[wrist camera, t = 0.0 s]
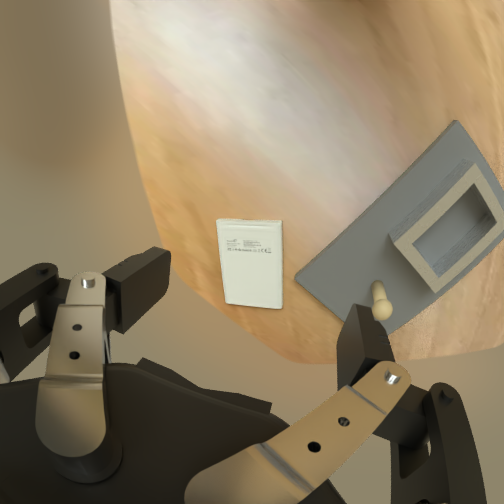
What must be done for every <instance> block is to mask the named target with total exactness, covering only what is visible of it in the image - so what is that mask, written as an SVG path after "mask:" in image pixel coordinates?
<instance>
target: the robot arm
mask: <svg viewBox="0 0 504 504" xmlns="http://www.w3.org/2000/svg"><path fill="white" fill-rule="evenodd" d="M170 263H171V253H170V251H168V250H165V249H161V248H158V247H152V248H150V249H149V250H147V251H145V252H144V253H141V254H137V255H133V256H131V257H128V258H127V259H125V260H124V261H122V262H120V263H119V264H118V265H115V266H113V267H112V268H110V269H108V270H107V271H105V272H104V273H102V274H100V273H97V272H82V273H78V274H76V275H75V276H74V277H73V278H72V279H71V280H69V279H64V278H59V275H58V268H57V267H56V265H54V264H51V263H39V264H35V265H33V266H31V267H29V268H28V269H26V270H24V271H22V272H21V273H19V274H17V275H15V276H14V277H12V278H10V279H9V280H7V281H5V282H4V283H2V284H1V285H0V504H346V503H345V501H344V500H343V498H342V497H341V495H340V494H339V493H338V491H337V490H336V489H335V487H334V486H333V484H332V483H331V482H330V480H329V479H328V478H329V477H330V476H331V475H332V474H333V473H334V472H335V471H336V470H338V469H339V467H341V466H342V465H343V464H344V463H345V462H346V461H347V460H348V459H349V458H350V457H351V456H352V455H353V454H354V452H355V451H356V450H357V449H358V448H359V447H360V446H361V445H362V444H363V443H364V442H365V441H366V440H367V439H368V438H369V436H370V435H371V434H374V435H377V436H379V437H382V438H384V439H387V440H389V441H390V446H391V504H487V501H486V495H485V488H484V482H483V477H482V472H481V467H480V463H479V459H478V454H477V450H476V446H475V442H474V438H473V435H472V431H471V428H470V424H469V421H468V418H467V415H466V412H465V409H464V406H463V402H462V400H461V397H460V395H459V394H458V392H457V391H456V390H455V389H454V388H453V387H451V386H450V385H448V384H446V383H441V382H439V383H435V384H433V385H432V387H431V388H430V390H429V391H426V390H423V389H421V388H419V387H416V386H414V385H412V384H411V377H410V375H409V373H408V372H407V370H406V369H405V368H403V367H402V366H401V365H399V364H397V363H395V359H394V356H393V352H392V349H391V345H390V342H389V339H388V336H387V332H386V329H385V328H384V327H383V326H382V324H381V323H380V322H379V321H375V320H374V316H373V313H372V309H371V307H367V306H363V305H359V304H355V303H354V304H353V305H352V307H351V309H350V311H349V313H348V316H347V318H346V321H345V323H344V325H343V328H342V330H341V332H340V334H339V337H338V341H337V377H338V378H337V379H338V380H337V382H338V392H336V393H335V394H334V395H333V396H331V397H330V398H329V399H327V400H326V401H325V402H324V403H322V404H321V405H320V406H318V407H317V408H315V409H314V410H313V411H311V412H310V413H309V414H307V415H306V416H304V417H303V418H302V419H300V420H299V421H297V422H296V423H294V424H293V425H291V426H290V425H289V424H287V423H286V422H285V421H283V420H282V419H280V418H279V417H277V416H276V415H274V414H272V413H270V410H271V406H272V403H271V402H266V401H263V400H259V399H255V398H252V397H249V396H246V395H242V394H239V393H231V392H223V391H216V390H209V389H203V388H200V387H198V386H196V385H195V384H193V383H192V382H190V381H188V380H187V379H185V378H184V377H182V376H181V375H179V374H178V373H176V372H174V371H173V370H171V369H169V368H166V367H164V366H162V365H159V364H157V363H154V362H152V361H150V360H148V359H145V358H142V359H141V360H140V361H139V362H138V364H137V365H134V364H128V363H112V361H111V342H110V331H111V330H115V331H117V332H119V333H122V334H124V333H125V332H126V331H127V330H128V329H129V328H130V327H131V326H132V325H133V324H135V323H136V322H137V321H138V320H139V319H140V318H141V317H142V316H143V315H144V314H145V313H146V312H147V311H148V310H149V309H150V308H151V307H152V306H153V305H154V304H156V303H157V302H158V301H159V300H160V299H161V298H162V297H163V296H164V295H165V293H166V291H167V289H168V285H169V275H170ZM32 303H33V304H34V309H35V313H36V316H35V317H33V318H32V319H31V320H29V321H28V322H27V323H25V324H24V325H23V326H22V327H20V325H19V315H20V313H21V311H22V310H23V309H25V308H26V307H27V306H29V305H30V304H32ZM49 345H50V346H49ZM48 346H49V353H48V358H47V365H46V371H45V376H44V377H39V378H34V379H28V380H22V381H16V382H11V381H12V380H13V379H14V378H15V377H16V376H17V375H18V374H19V373H20V372H21V371H22V370H23V369H24V368H25V367H26V366H28V365H29V364H30V363H31V362H32V361H33V360H34V359H35V358H36V357H37V356H38V355H39V354H40V353H41V352H43V351H44V350H45V349H46V348H47V347H48ZM429 441H430V444H431V453H430V456H429V452H428V446H427V443H428V442H429Z"/></svg>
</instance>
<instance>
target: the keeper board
mask: <svg viewBox="0 0 504 504" xmlns="http://www.w3.org/2000/svg"><path fill="white" fill-rule="evenodd" d="M463 158H464V159H467V160H469V161H472V162H474V163H476V165H477V166H478V168H479V170H480V171H481V173H482V174H483V176H484V178H485V179H486V181H487V183H488V184H489V186H490V188H491V189H492V191H493V193H494V195H495V196H496V198H497V200H498V202H499V204H500V206H501V208H502V209H503V211H504V191H503V189H502V187H501V185H500V183H499V182H498V180H497V178H496V176H495V175H494V173H493V171H492V170H491V168H490V166H489V165H488V163H487V161H486V160H485V158H484V157H483V155H482V154H481V152H480V151H479V149H478V148H477V146H476V145H475V143H474V142H473V140H472V139H471V137H470V136H469V135H468V133H467V132H466V130H465V129H464V128H463V126H462V125H461V124H460V122H459V121H458V120H453V122H452V123H451V124H450V125H449V126H448V127H447V128H446V129H445V130H444V131H443V132H442V133H441V135H440V136H439V137H438V138H437V139H436V140H435V141H434V142H433V143H432V144H431V145H430V146H429V147H428V148H427V149H426V150H425V151H424V152H423V154H422V155H421V156H420V157H419V158H418V159H417V160H416V161H415V162H414V163H413V164H412V165H411V166H410V167H409V168H408V169H407V170H406V171H405V172H404V173H403V174H402V175H401V176H400V177H399V178H398V179H397V180H396V181H395V182H394V183H393V184H392V185H391V186H390V187H389V188H388V189H387V190H386V191H385V192H384V193H383V194H382V195H381V196H380V197H379V198H378V199H377V200H376V201H375V202H374V203H373V204H372V205H370V206H369V207H368V208H367V209H366V210H365V211H364V212H363V213H362V214H361V215H360V216H359V217H358V218H357V219H356V220H355V221H354V222H353V223H352V224H351V225H349V226H348V227H347V228H346V229H345V230H344V231H343V232H342V233H341V234H340V235H339V236H338V237H337V238H336V239H334V240H333V241H332V242H331V243H330V244H329V245H328V246H327V247H326V248H325V249H324V250H322V251H321V252H320V253H319V254H318V255H317V256H316V257H315V258H314V259H312V260H311V261H310V262H309V263H308V264H307V265H306V266H305V267H304V268H302V269H301V270H300V271H299V272H298V273H297V274H296V275H295V280H296V281H297V282H298V283H299V284H300V285H302V286H303V287H304V288H305V289H306V290H307V291H309V292H310V293H311V294H312V295H313V296H314V297H316V298H317V299H318V300H319V301H320V302H321V303H323V304H324V305H325V306H326V307H327V308H328V309H330V310H331V311H332V312H333V313H334V314H335V315H336V316H338V317H339V318H340V319H341V320H342V321H343V322H345V321H346V318H347V316H348V313H349V311H350V309H351V307H352V305H353V304H354V303H355V304H359V305H363V306H367V307H371V309H372V313H373V316H374V320H375V321H379V322H380V323H381V324H382V326H383V327H384V328H385V329H386V332H387V336H388V335H389V334H391V333H392V332H393V331H395V330H396V329H398V328H399V327H401V326H402V325H403V324H405V323H406V322H408V321H409V320H410V319H412V318H413V317H414V316H416V315H417V314H419V313H420V312H421V311H422V310H424V309H425V308H426V307H428V306H429V305H430V304H432V303H433V302H434V301H435V300H437V299H438V298H439V297H440V296H442V295H443V294H444V293H445V292H446V291H448V290H449V289H450V288H451V287H452V286H454V285H455V284H456V283H457V282H458V281H459V280H460V279H462V278H463V277H464V276H465V275H466V274H467V273H468V272H469V271H471V270H472V269H473V268H474V267H475V266H476V265H477V264H478V263H479V262H480V261H481V260H482V259H483V258H484V257H485V256H486V255H487V254H488V253H489V252H491V251H492V250H493V248H494V247H495V246H496V245H497V244H498V243H499V242H500V241H501V240H502V239H503V238H504V230H503V231H502V232H501V233H500V234H499V235H498V236H497V237H496V238H495V239H494V240H493V241H492V242H491V243H490V244H489V245H488V246H487V247H486V248H485V249H484V250H483V251H482V252H481V253H480V254H479V255H478V256H477V257H476V258H475V259H474V260H473V261H472V262H471V263H470V264H469V265H468V266H467V267H465V268H464V269H463V270H462V271H461V272H460V273H459V274H458V275H456V276H455V277H454V278H453V279H452V280H451V281H450V282H448V283H447V284H446V285H445V286H444V287H442V288H441V289H440V290H439V291H438V292H436V293H434V292H433V290H432V289H431V288H430V287H429V285H428V284H427V283H426V282H425V280H424V279H423V278H422V277H421V275H420V274H419V273H418V272H417V271H416V269H415V268H414V267H413V266H412V265H411V263H410V262H409V261H408V260H407V259H406V258H405V256H404V255H403V254H402V253H401V252H400V251H399V249H398V248H397V247H396V246H395V245H394V244H393V242H392V240H391V237H390V235H389V232H390V231H391V230H392V229H393V228H394V227H395V226H396V225H397V224H398V223H399V222H401V221H402V220H403V219H404V218H405V217H406V216H407V215H408V214H409V213H410V212H411V211H412V210H413V209H414V208H415V207H416V206H417V205H418V204H419V203H420V202H421V201H422V200H423V199H424V198H426V197H427V196H428V195H429V194H430V193H431V192H432V191H433V190H434V189H435V188H436V186H437V185H438V184H439V183H440V182H441V181H442V180H443V179H444V178H445V177H446V176H447V175H448V174H449V173H450V172H451V171H452V170H453V169H454V168H455V167H456V166H457V165H458V164H459V162H460V161H461V160H462V159H463ZM485 214H486V213H485V211H484V209H483V208H482V206H481V204H480V203H479V201H478V199H477V198H476V196H475V195H474V193H473V191H472V190H471V188H469V189H468V190H467V191H466V192H465V193H464V194H463V195H462V196H461V197H460V198H459V199H458V200H457V201H456V202H455V203H454V204H453V205H452V206H451V207H450V208H449V209H448V210H447V211H446V212H445V213H444V214H443V215H442V216H441V217H440V218H439V219H438V220H437V221H436V222H435V223H434V224H433V225H432V226H431V227H430V228H428V229H427V230H426V231H425V232H424V233H423V234H422V235H421V236H420V237H419V238H418V239H417V240H415V241H414V242H413V243H414V244H415V245H416V247H417V248H418V249H419V250H420V252H421V253H422V254H423V255H424V257H425V258H426V259H427V260H428V262H429V263H430V264H431V266H432V265H433V264H434V263H435V262H436V261H438V260H439V259H440V258H441V257H442V256H443V255H444V254H445V253H446V252H448V251H449V250H450V249H451V248H452V247H453V246H454V245H455V244H456V243H457V242H458V241H459V240H460V239H461V238H462V237H463V236H465V235H466V234H467V233H468V232H469V231H470V230H471V229H472V228H473V227H474V226H475V225H476V224H477V223H478V222H479V221H480V219H481V218H482V217H483V216H484V215H485Z"/></svg>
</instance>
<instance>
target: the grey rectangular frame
mask: <svg viewBox="0 0 504 504" xmlns="http://www.w3.org/2000/svg"><path fill="white" fill-rule="evenodd" d="M469 188H471V190H472V191H473V193H474V195H475V196H476V198H477V199H478V201H479V203H480V204H481V206H482V208H483V209H484V211H485V213H486V214H485V215H484V216H483V217H482V218H481V219H480V221H479V222H478V223H477V224H476V225H475V226H474V227H473V228H472V229H471V230H470V231H469V232H468V233H467V234H466V235H465V236H463V237H462V238H461V239H460V240H459V241H458V242H457V243H456V244H455V245H454V246H453V247H452V248H451V249H450V250H449V251H448V252H446V253H445V254H444V255H443V256H442V257H441V258H440V259H439V260H438V261H436V262H435V263H434V264H433V265H432V266H431V264H430V263H429V262H428V260H427V259H426V258H425V257H424V255H423V254H422V253H421V252H420V250H419V249H418V248H417V247H416V245H415V244H414V243H413V242H414V241H415V240H417V239H418V238H419V237H420V236H421V235H422V234H423V233H424V232H425V231H426V230H427V229H428V228H430V227H431V226H432V225H433V224H434V223H435V222H436V221H437V220H438V219H439V218H440V217H441V216H442V215H443V214H444V213H445V212H446V211H447V210H448V209H449V208H450V207H451V206H452V205H453V204H454V203H455V202H456V201H457V200H458V199H459V198H460V197H461V196H462V195H463V194H464V193H465V192H466V191H467V190H468V189H469ZM503 230H504V211H503V209H502V208H501V206H500V204H499V202H498V200H497V198H496V196H495V195H494V193H493V191H492V189H491V188H490V186H489V184H488V183H487V181H486V179H485V178H484V176H483V174H482V173H481V171H480V170H479V168H478V166H477V165H476V163H474V162H472V161H469V160H467V159H464V158H463V159H462V160H461V161H460V162H459V164H458V165H457V166H456V167H455V168H454V169H453V170H452V171H451V172H450V173H449V174H448V175H447V176H446V177H445V178H444V179H443V180H442V181H441V182H440V183H439V184H438V185H437V186H436V188H435V189H434V190H433V191H432V192H431V193H430V194H429V195H428V196H427V197H426V198H424V199H423V200H422V201H421V202H420V203H419V204H418V205H417V206H416V207H415V208H414V209H413V210H412V211H411V212H410V213H409V214H408V215H407V216H406V217H405V218H404V219H403V220H402V221H401V222H399V223H398V224H397V225H396V226H395V227H394V228H393V229H392V230H391V231H390V232H389V235H390V237H391V240H392V242H393V244H394V245H395V246H396V247H397V248H398V249H399V251H400V252H401V253H402V254H403V255H404V256H405V258H406V259H407V260H408V261H409V262H410V263H411V265H412V266H413V267H414V268H415V269H416V271H417V272H418V273H419V274H420V275H421V277H422V278H423V279H424V280H425V282H426V283H427V284H428V285H429V287H430V288H431V289H432V290H433V292H434V293H436V292H438V291H439V290H440V289H441V288H442V287H444V286H445V285H446V284H447V283H448V282H450V281H451V280H452V279H453V278H454V277H455V276H456V275H458V274H459V273H460V272H461V271H462V270H463V269H464V268H465V267H467V266H468V265H469V264H470V263H471V262H472V261H473V260H474V259H475V258H476V257H477V256H478V255H479V254H480V253H481V252H482V251H483V250H484V249H485V248H486V247H487V246H488V245H489V244H490V243H491V242H492V241H493V240H494V239H495V238H496V237H497V236H498V235H499V234H500V233H501V232H502V231H503Z"/></svg>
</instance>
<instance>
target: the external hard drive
mask: <svg viewBox="0 0 504 504" xmlns="http://www.w3.org/2000/svg"><path fill="white" fill-rule="evenodd" d="M216 225H217V234H218V244H219V253H220V261H221V270H222V278H223V286H224V293H225V301H226V303H228V304H236V305H245V306H254V307H263V308H273V309H281V308H282V306H283V238H282V220H244V219H217V220H216Z"/></svg>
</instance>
